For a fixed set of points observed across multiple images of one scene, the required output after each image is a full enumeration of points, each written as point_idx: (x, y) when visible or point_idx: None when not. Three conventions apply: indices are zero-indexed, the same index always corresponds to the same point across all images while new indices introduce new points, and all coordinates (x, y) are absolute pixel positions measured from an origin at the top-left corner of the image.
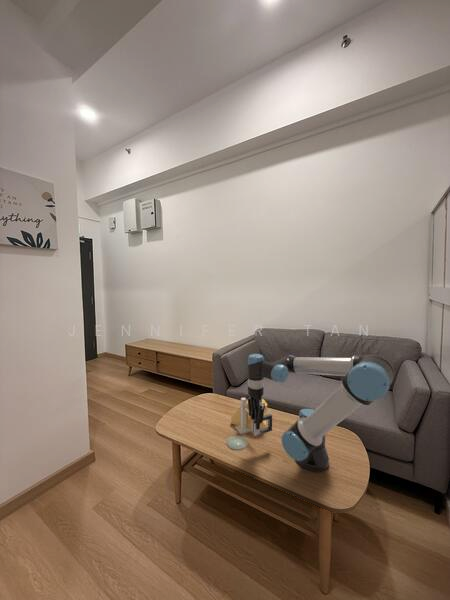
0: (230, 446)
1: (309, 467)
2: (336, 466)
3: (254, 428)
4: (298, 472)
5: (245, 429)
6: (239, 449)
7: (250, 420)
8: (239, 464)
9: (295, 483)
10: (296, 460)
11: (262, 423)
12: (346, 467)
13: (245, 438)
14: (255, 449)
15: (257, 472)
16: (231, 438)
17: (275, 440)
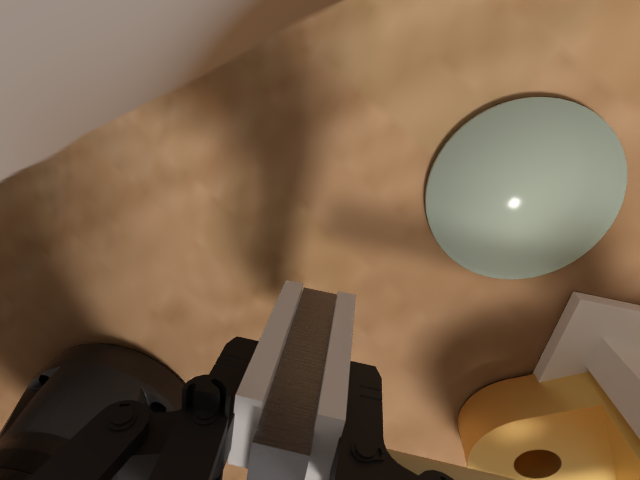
0: (521, 107)
1: (56, 359)
2: None
3: (274, 329)
4: (78, 300)
5: (579, 349)
6: (438, 153)
7: (610, 445)
8: (306, 39)
9: (21, 230)
10: (141, 357)
11: (502, 472)
12: None
13: (500, 278)
14: (360, 253)
15: (174, 105)
16: (598, 187)
17: None
